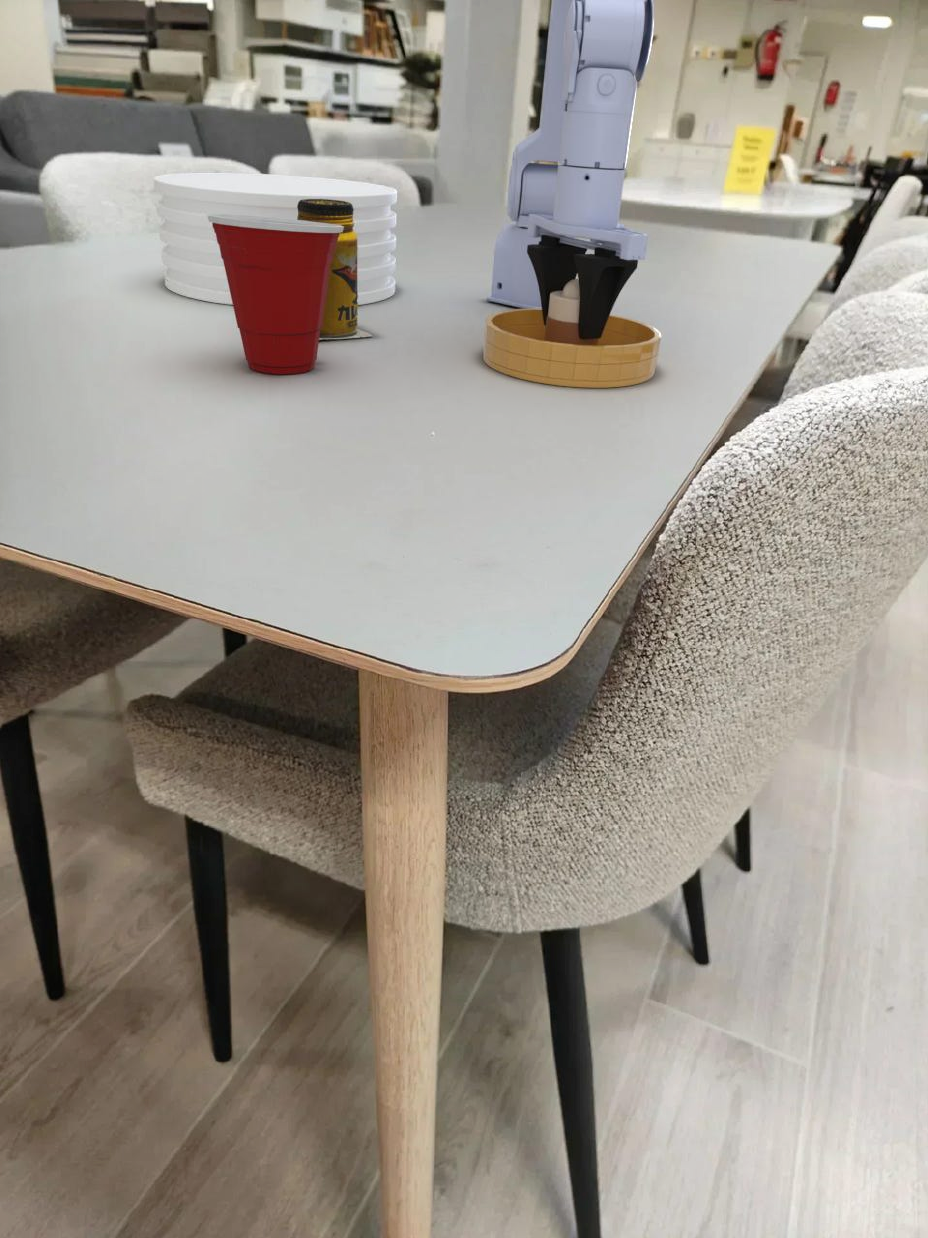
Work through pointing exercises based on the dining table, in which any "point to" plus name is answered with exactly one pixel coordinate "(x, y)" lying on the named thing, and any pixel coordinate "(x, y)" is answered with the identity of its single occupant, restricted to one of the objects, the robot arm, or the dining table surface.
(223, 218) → the plastic cup
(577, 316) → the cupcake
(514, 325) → the bowl
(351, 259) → the condiment
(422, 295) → the dining table surface
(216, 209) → the plate stack
